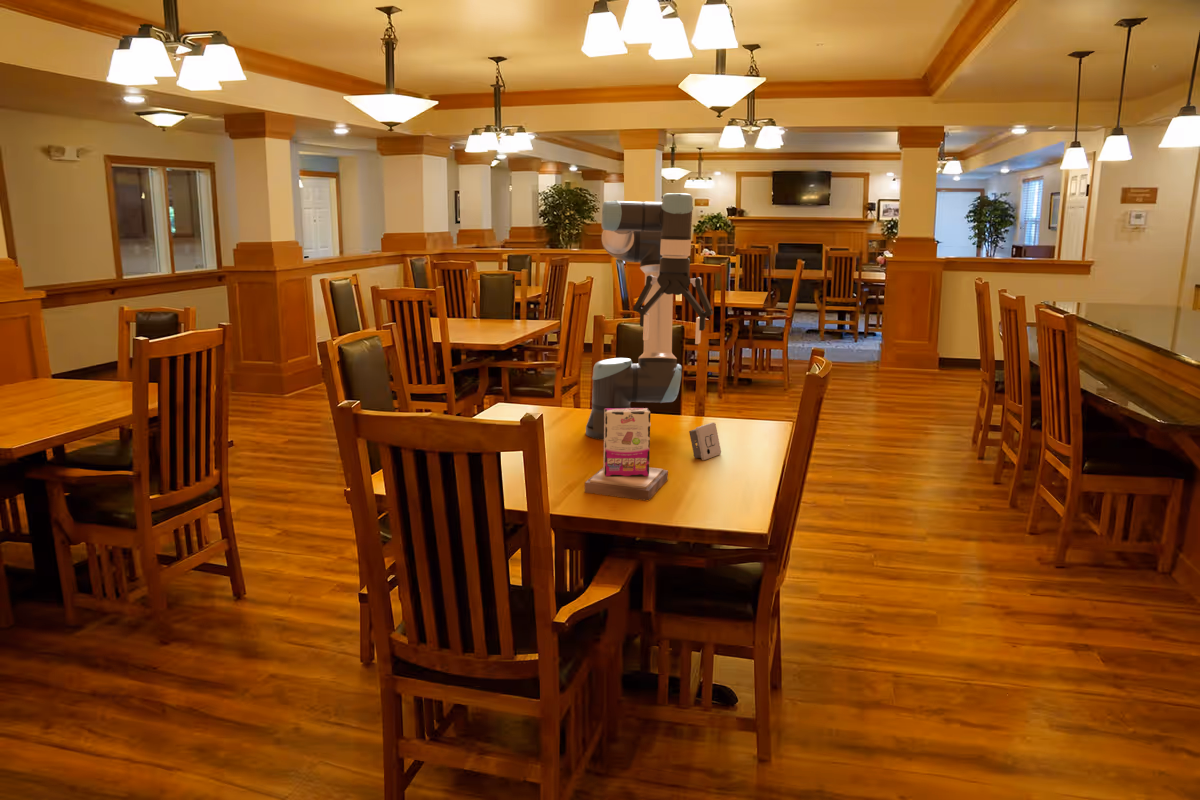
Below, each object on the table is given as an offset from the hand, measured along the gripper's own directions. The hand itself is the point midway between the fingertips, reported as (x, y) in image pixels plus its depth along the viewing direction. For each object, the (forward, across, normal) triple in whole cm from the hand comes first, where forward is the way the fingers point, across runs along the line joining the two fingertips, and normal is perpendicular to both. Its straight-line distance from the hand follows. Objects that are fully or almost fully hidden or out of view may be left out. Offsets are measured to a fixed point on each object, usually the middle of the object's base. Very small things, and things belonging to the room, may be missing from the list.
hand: (671, 341), depth 216 cm
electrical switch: (+35, -6, -20) cm, 41 cm away
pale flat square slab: (+35, +6, +15) cm, 38 cm away
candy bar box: (+32, +7, +15) cm, 36 cm away
